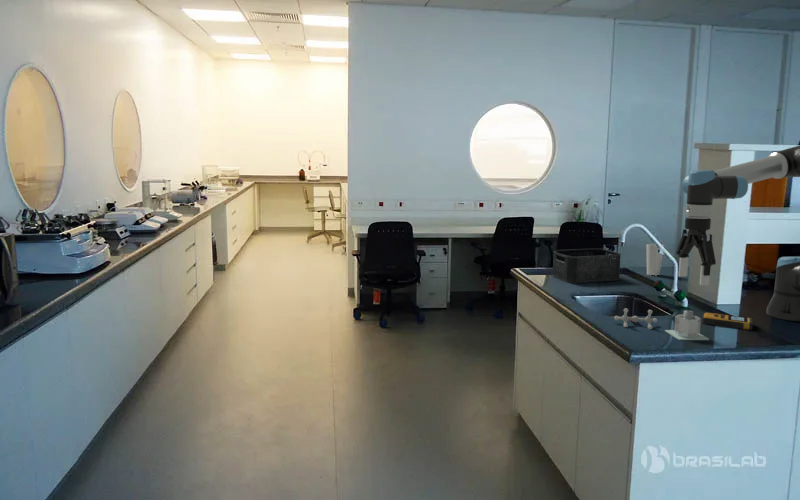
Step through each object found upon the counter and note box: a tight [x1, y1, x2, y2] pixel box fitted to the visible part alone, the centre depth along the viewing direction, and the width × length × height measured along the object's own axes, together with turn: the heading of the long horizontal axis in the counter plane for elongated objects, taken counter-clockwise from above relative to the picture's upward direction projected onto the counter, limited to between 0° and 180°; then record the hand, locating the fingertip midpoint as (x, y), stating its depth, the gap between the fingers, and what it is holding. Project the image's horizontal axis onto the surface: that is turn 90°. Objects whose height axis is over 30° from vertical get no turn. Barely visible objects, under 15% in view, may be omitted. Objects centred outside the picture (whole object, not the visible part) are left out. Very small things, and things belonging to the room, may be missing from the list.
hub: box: [673, 313, 702, 338], centre depth 196 cm, size 7×7×6 cm
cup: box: [646, 243, 665, 277], centre depth 297 cm, size 8×8×16 cm
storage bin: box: [552, 247, 621, 284], centre depth 288 cm, size 29×19×13 cm
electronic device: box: [701, 312, 754, 331], centre depth 210 cm, size 8×16×3 cm, turn 60°
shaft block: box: [664, 309, 710, 341], centre depth 196 cm, size 10×10×8 cm
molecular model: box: [613, 307, 658, 330], centre depth 209 cm, size 14×8×10 cm
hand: (693, 280), depth 195 cm, fingers open, 13 cm apart
